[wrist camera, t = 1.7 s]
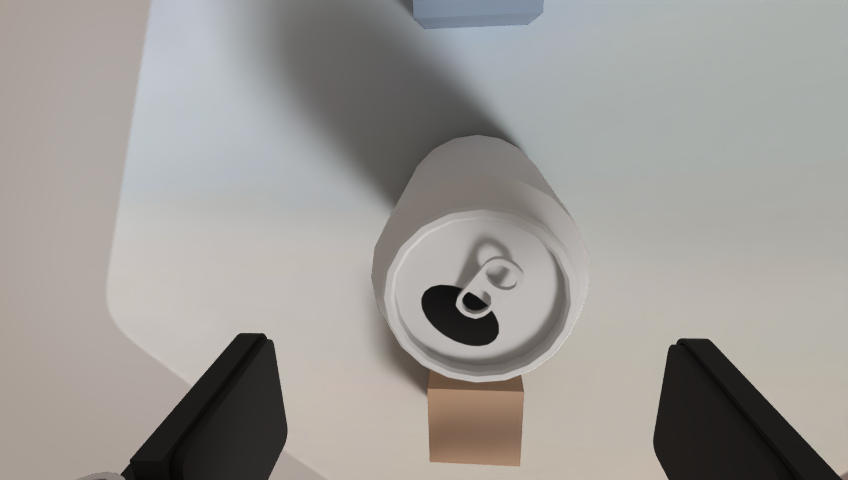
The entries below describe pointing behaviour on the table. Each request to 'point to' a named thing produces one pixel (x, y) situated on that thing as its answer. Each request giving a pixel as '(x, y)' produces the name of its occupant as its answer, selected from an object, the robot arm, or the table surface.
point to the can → (480, 263)
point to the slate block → (475, 12)
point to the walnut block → (475, 420)
